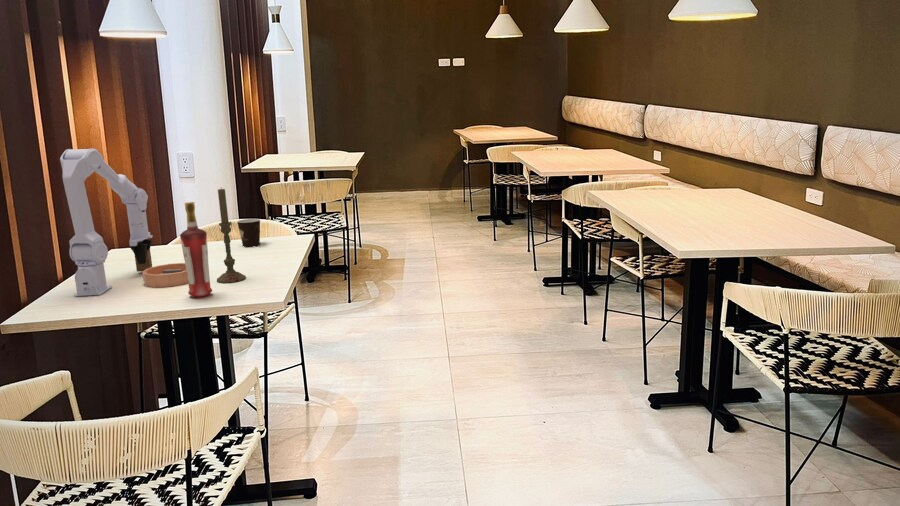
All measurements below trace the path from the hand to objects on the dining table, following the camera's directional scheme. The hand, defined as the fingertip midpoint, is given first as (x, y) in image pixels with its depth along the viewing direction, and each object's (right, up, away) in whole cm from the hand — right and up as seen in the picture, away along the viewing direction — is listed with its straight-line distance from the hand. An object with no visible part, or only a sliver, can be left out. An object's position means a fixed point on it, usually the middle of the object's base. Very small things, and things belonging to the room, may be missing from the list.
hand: (143, 262), depth 248 cm
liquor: (+30, -10, -32) cm, 45 cm away
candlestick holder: (+34, -5, -14) cm, 37 cm away
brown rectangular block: (0, -3, +1) cm, 3 cm away
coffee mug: (+27, +6, +38) cm, 46 cm away
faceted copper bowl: (+14, -6, -12) cm, 19 cm away
